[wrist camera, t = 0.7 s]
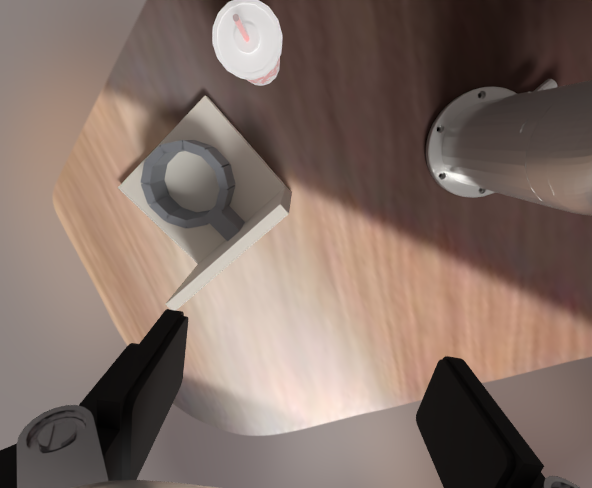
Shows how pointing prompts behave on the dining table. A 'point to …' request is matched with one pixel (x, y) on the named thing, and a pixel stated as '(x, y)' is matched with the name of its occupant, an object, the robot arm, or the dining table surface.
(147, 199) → the bracket
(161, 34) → the dining table surface
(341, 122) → the dining table surface
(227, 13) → the beverage cup
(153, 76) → the dining table surface
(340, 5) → the dining table surface
